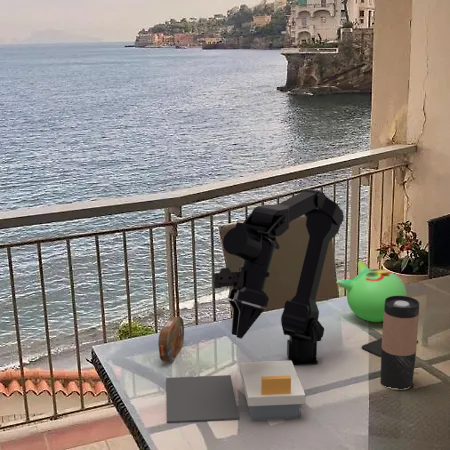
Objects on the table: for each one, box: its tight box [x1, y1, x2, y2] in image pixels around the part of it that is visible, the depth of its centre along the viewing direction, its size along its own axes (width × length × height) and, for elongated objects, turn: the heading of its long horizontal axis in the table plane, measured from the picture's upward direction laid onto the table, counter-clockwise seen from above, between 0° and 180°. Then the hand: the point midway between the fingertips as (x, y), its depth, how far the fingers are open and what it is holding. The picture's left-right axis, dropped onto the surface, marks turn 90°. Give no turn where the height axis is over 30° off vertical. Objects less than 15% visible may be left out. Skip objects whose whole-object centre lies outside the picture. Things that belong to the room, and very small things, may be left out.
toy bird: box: [336, 260, 407, 323], centre depth 195 cm, size 18×17×15 cm
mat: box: [165, 374, 240, 424], centre depth 153 cm, size 15×19×1 cm
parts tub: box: [247, 404, 301, 421], centre depth 151 cm, size 10×14×5 cm
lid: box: [239, 360, 306, 407], centre depth 150 cm, size 12×16×6 cm
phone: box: [361, 337, 419, 358], centre depth 180 cm, size 7×1×15 cm
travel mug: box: [380, 295, 420, 389], centre depth 157 cm, size 8×8×20 cm
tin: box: [157, 316, 185, 363], centre depth 174 cm, size 15×3×8 cm, turn 168°
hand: (236, 336), depth 146 cm, fingers open, 9 cm apart
